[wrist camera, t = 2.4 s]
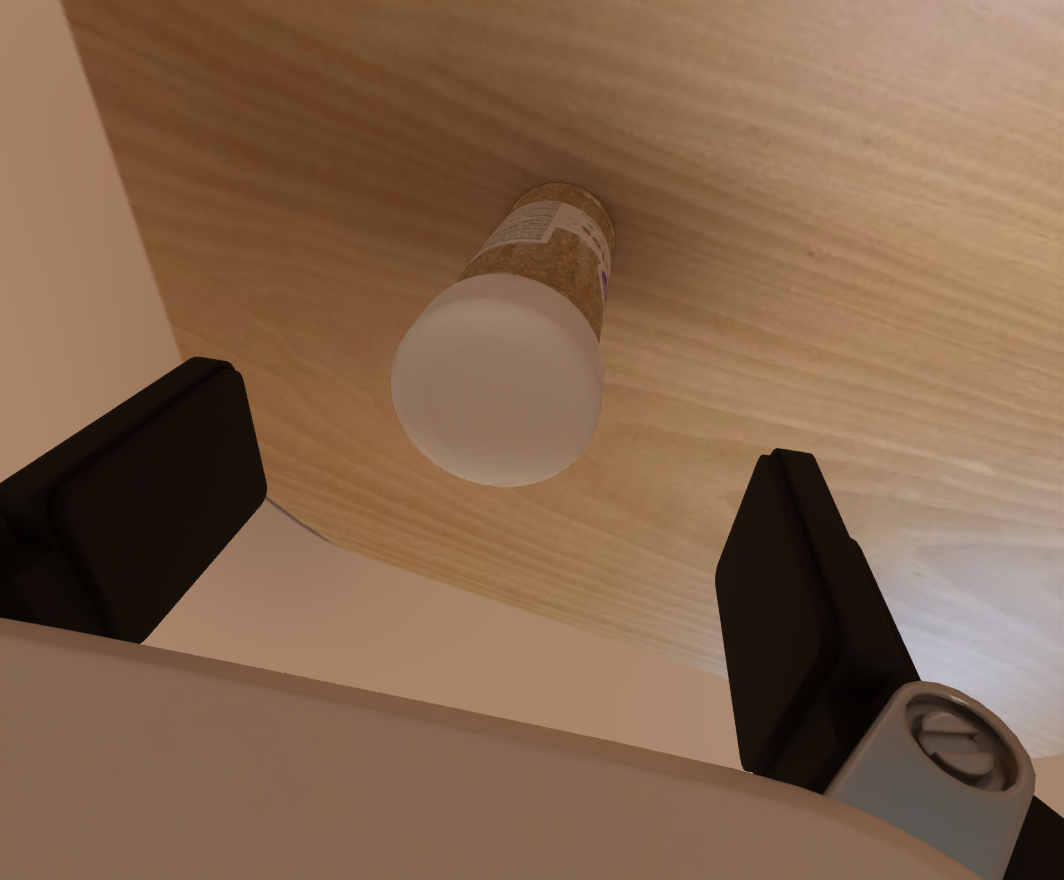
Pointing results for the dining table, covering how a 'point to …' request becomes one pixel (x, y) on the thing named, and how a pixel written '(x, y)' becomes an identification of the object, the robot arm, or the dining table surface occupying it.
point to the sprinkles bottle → (513, 346)
